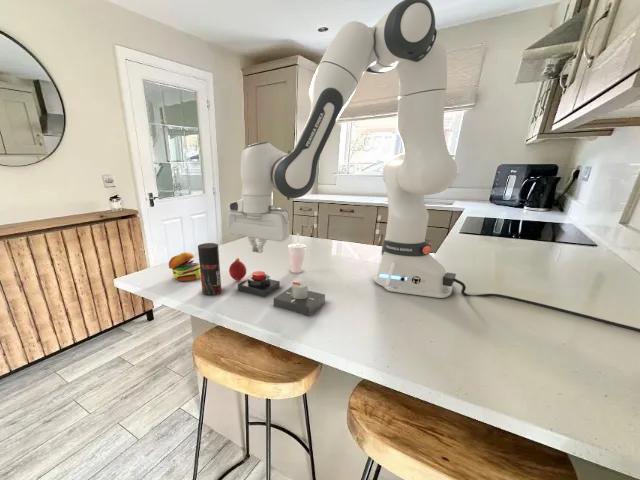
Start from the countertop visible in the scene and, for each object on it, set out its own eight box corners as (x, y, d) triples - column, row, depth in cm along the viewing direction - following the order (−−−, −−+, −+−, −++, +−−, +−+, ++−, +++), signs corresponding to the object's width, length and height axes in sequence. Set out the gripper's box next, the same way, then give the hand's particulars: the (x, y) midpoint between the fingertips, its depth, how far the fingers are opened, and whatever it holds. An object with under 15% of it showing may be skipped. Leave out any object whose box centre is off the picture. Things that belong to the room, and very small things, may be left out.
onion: (244, 284, 101) (243, 261, 98) (227, 283, 102) (226, 260, 99) (248, 278, 107) (247, 256, 103) (232, 277, 108) (231, 255, 105)
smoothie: (307, 270, 113) (309, 232, 108) (300, 275, 108) (301, 236, 103) (292, 267, 116) (293, 230, 111) (284, 272, 111) (284, 234, 106)
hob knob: (310, 295, 86) (311, 282, 85) (303, 300, 83) (303, 287, 81) (296, 291, 89) (296, 279, 87) (288, 297, 85) (289, 284, 84)
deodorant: (218, 296, 93) (214, 248, 87) (199, 295, 94) (194, 248, 88) (223, 288, 98) (220, 243, 93) (205, 288, 99) (201, 242, 93)
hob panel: (324, 302, 88) (325, 293, 86) (309, 316, 80) (309, 307, 79) (291, 294, 93) (291, 286, 92) (273, 306, 86) (273, 297, 85)
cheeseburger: (193, 283, 102) (183, 255, 99) (168, 287, 107) (158, 260, 104) (208, 273, 111) (200, 247, 108) (185, 277, 116) (176, 251, 113)
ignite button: (267, 277, 97) (267, 272, 96) (260, 281, 94) (260, 276, 93) (257, 275, 99) (257, 270, 98) (249, 279, 96) (249, 273, 95)
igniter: (279, 287, 98) (279, 276, 97) (264, 297, 92) (264, 285, 90) (254, 281, 104) (254, 270, 102) (237, 290, 97) (237, 278, 95)
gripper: (294, 206, 84) (292, 254, 90) (236, 201, 95) (238, 245, 101) (282, 209, 80) (281, 260, 85) (223, 204, 91) (225, 249, 96)
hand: (257, 252), depth 93 cm, fingers closed
